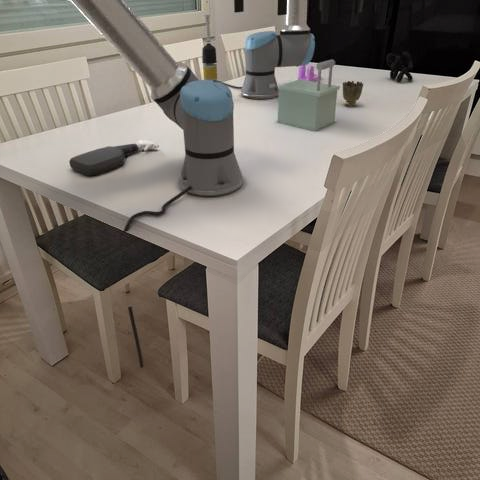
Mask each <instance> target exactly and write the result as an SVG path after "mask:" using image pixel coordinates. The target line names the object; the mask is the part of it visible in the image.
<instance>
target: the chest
mask: <svg viewBox="0 0 480 480" xmlns="http://www.w3.org/2000/svg"><path fill="white" fill-rule="evenodd" d="M278 89H279V88H278ZM277 97H278V98H277V99H278V100H277V123H279V124H280V123H281V124H284V125H288V126H293V127H296V128H300V129H304V130H310V131H313V132H316V131H318V130H320V129H322V128H324V127H327V126H329V125H331V124H334V123H335V121H336V109H337V100H338V99H337V97H338V90H336V91H334V92H331V93H328V94H326V95H323V96H320V97H317V96H312V95H307V94H301V93H296V92H291V91H286V90H280V89H279V95H278V96H277Z"/></svg>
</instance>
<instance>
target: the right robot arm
mask: <svg viewBox="0 0 480 480" xmlns="http://www.w3.org/2000/svg"><path fill="white" fill-rule="evenodd" d="M330 1H331V0H319V11H320V12H321V14H320V25H326V24H329V14H330V11H329V10H330ZM363 5H364V0H352V8H351V9H352V10H351V20H350V27H357V26H359V19H360V18H359V16H360V13H362V12H363ZM307 17H308V0H287V14H286V15H283V25H282V27H281V28H279V34H277V33H276V32H275V31H274V30H267V31H259V32H255V33H251V34H248V36H247V37H246V38H245V43H244V45H245V46H244V51H245V54H244V55H245V77H244V80H243V84H242V86H237V85H232V84H229V83H225V82H224V81H221V80H218V79H217V80H212V81H215V82H220V83H222V84H224V85H226V86H227V87H228V88H234V89H239V90H241V91H240V92H241V93H240V95H241V97H242V98H246V99H249V100H270V99H274V98H277V97H278V95H279V85H278V83H277V82H278V81H277V79H276V75H275V74H276V71H275V70H276V68H287V67H289V68H290V67H297V68H299V67H300V66H304V65H305V66H307V65H309V64H310V62H311V61H312V60H313V56H314V53H315V48H316V41H315V40H316V39H315V38H316V37H315V35H314V34H313V33H311V28H310V27H309V26H308V24H307V19H308V18H307Z"/></svg>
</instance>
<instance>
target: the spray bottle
mask: <svg viewBox="0 0 480 480" xmlns="http://www.w3.org/2000/svg"><path fill="white" fill-rule="evenodd" d="M159 148H160V145H159V144H158V143H155V142H151V141H148V140H144V139H139V140H138V141H137V142H135V143H129V144H128V143H126V144H122V145H113V146H105V147H100V148H97V149H94V150H90V151H87V152H83V153H81V154H78V155H74V156H73V157H70V159H69V161H68V162H69V167H70V168H71V169H72V170H74V171H75V172H78V173H81V174H83V175H85V176H89V177H90V176H91V177H92V176H95V175H99V174H102V173H105V172H107V171H110V170H113V169H116V168H118V167H120V166H122V165H123V164H124V163H125V158H126V156H127V155H131V154H133V153H138V151H140V150H143V151H144V152H146V151H147V150H149V149H159Z"/></svg>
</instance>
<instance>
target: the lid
mask: <svg viewBox="0 0 480 480" xmlns="http://www.w3.org/2000/svg"><path fill="white" fill-rule="evenodd" d="M335 65H336V60H334V59H332V58H331V59H328V60H324V61H321V62H318V63H317V64H316V67H315V68H316V70H317V74H318V80H317V81H314V82H312V81H306V80H300V79H299V80H298V79H297V80H293V81H290V82H287V83H283V84H280V85H278V89H280V90H286V91H291V92H296V93H301V94H307V95H312V96H317V97H320V96H323V95H326V94H328V93H331V92H334V91H336V90H337V91H339V90H340V88H341V87H340V85H336V84H332V79H333V78H332V76H333V68H334V67H335ZM326 69H329V70H328V81H327V83H324V82H321V79H322V70H326Z"/></svg>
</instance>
